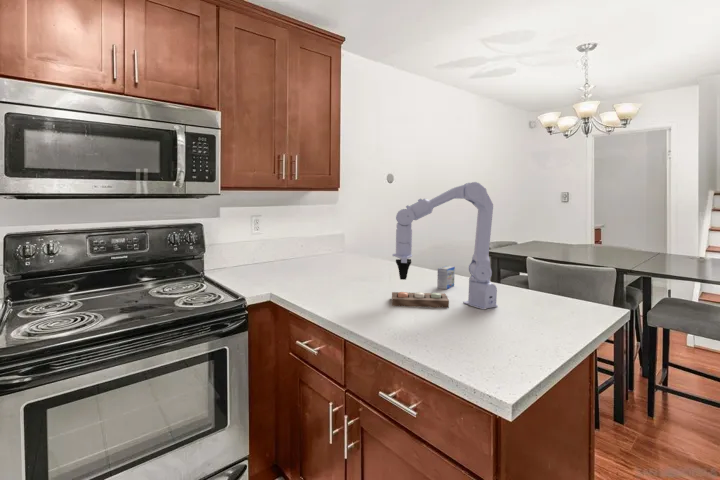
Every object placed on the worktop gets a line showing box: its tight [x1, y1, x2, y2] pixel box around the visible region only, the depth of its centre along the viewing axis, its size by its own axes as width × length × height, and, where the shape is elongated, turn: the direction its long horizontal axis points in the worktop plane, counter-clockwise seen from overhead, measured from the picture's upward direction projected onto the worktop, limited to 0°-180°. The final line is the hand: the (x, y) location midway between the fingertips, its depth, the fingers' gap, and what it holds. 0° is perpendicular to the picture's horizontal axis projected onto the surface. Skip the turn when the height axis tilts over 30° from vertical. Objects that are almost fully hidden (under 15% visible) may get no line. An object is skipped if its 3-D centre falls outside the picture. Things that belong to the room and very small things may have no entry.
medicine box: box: [437, 265, 456, 290], centre depth 169 cm, size 8×4×9 cm, turn 143°
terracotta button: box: [398, 291, 409, 298], centre depth 145 cm, size 4×4×2 cm
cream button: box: [413, 291, 425, 298], centre depth 144 cm, size 4×4×2 cm
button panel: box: [391, 291, 450, 309], centre depth 144 cm, size 20×10×2 cm, turn 85°
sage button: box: [430, 292, 441, 298], centre depth 144 cm, size 4×4×2 cm
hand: (403, 279), depth 144 cm, fingers closed
